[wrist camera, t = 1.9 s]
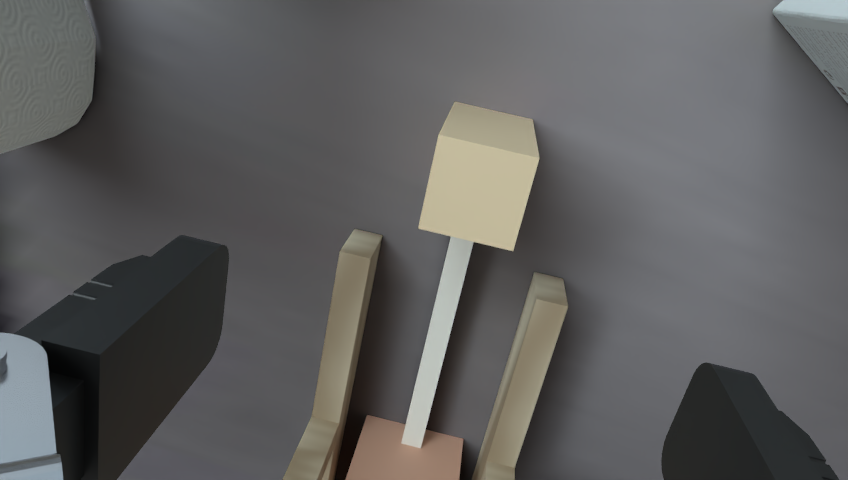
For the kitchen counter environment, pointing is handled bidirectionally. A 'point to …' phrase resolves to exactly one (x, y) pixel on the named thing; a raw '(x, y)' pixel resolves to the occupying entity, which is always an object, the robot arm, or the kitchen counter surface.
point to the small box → (820, 35)
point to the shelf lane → (346, 322)
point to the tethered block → (454, 274)
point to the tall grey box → (43, 69)
